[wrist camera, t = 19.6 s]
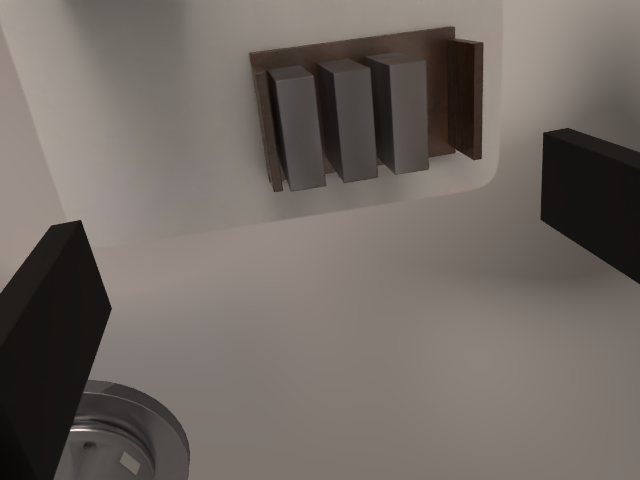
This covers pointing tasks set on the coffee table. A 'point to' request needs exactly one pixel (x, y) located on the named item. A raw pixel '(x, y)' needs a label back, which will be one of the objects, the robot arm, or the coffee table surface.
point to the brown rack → (368, 105)
